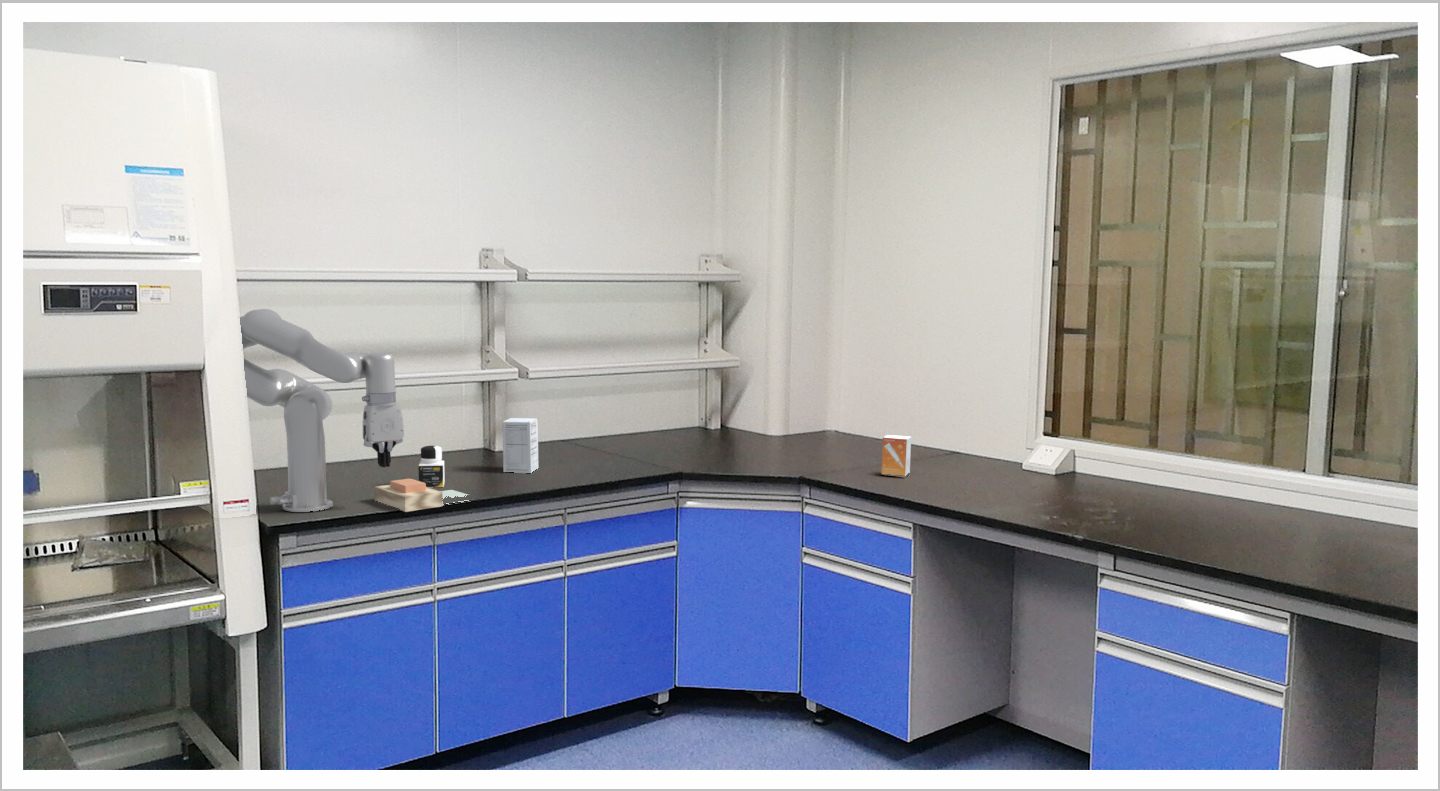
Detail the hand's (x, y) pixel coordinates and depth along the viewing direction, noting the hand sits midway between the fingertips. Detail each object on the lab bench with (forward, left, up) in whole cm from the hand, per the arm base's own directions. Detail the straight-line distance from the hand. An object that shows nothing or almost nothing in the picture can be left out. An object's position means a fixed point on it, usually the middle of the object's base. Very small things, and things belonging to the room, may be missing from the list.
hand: (384, 466), depth 289 cm
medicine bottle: (+24, +18, -12) cm, 32 cm away
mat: (+19, 0, -11) cm, 22 cm away
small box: (+147, -61, -12) cm, 159 cm away
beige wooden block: (+7, 0, -11) cm, 13 cm away
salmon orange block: (+7, 0, -7) cm, 10 cm away
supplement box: (+58, +22, -12) cm, 63 cm away
